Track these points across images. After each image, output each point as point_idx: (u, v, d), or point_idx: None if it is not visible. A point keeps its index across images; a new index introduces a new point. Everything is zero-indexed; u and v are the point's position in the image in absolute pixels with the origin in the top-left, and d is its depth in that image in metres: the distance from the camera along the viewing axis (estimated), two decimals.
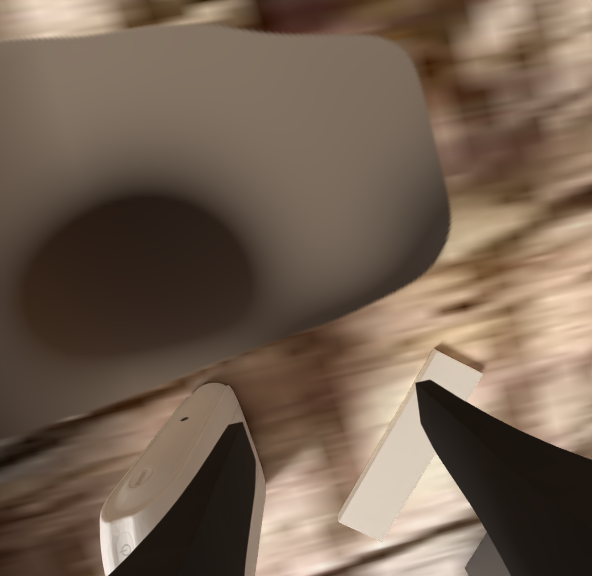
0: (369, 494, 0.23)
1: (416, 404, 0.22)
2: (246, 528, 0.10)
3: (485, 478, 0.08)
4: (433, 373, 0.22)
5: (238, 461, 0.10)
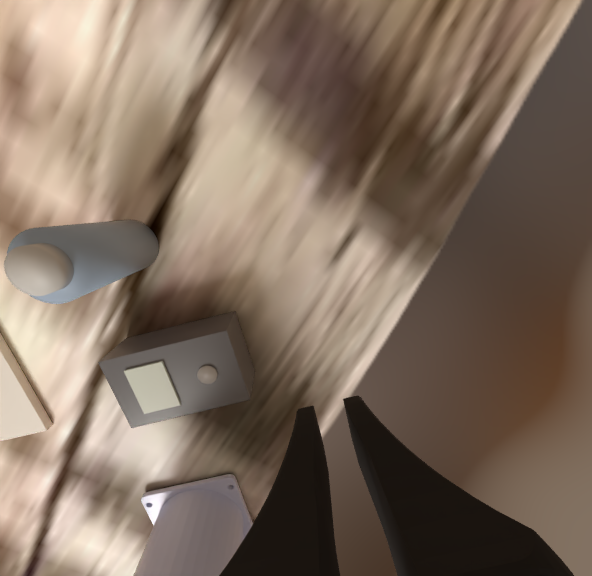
0: None
1: None
2: (330, 510, 0.10)
3: (380, 501, 0.08)
4: None
5: (318, 443, 0.10)
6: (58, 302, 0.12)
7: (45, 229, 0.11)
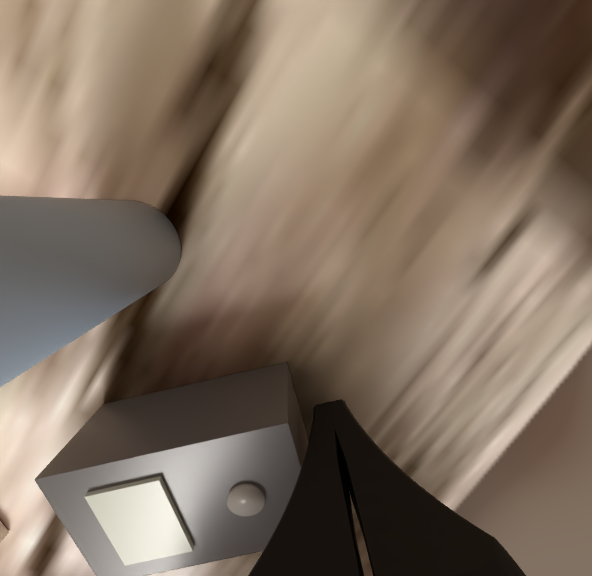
0: None
1: None
2: (350, 506, 0.10)
3: (357, 506, 0.08)
4: None
5: None
6: None
7: None
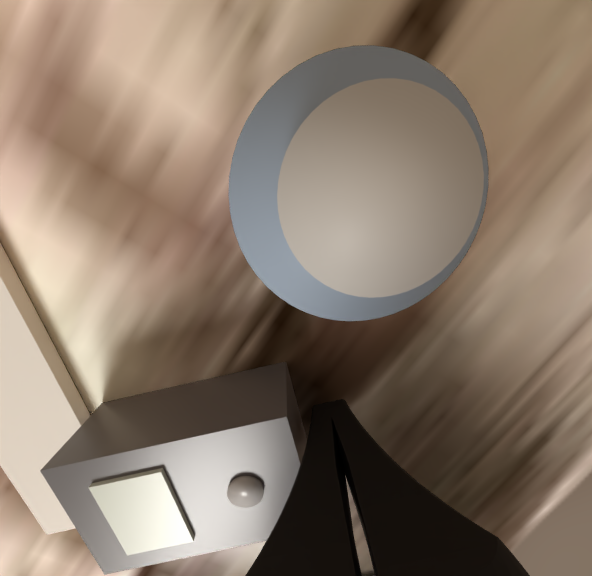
0: (34, 476, 0.12)
1: None
2: (348, 506, 0.10)
3: (358, 505, 0.08)
4: None
5: (335, 439, 0.10)
6: (357, 317, 0.04)
7: (389, 53, 0.03)
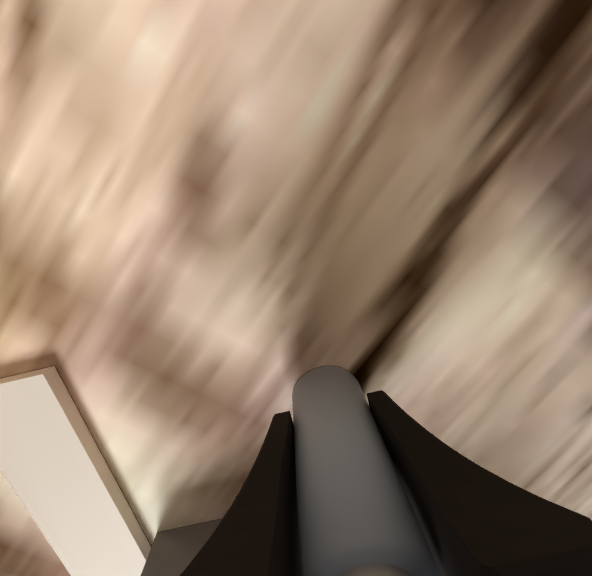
0: None
1: (19, 473, 0.13)
2: None
3: (415, 493, 0.08)
4: None
5: (291, 449, 0.10)
6: None
7: (388, 545, 0.06)
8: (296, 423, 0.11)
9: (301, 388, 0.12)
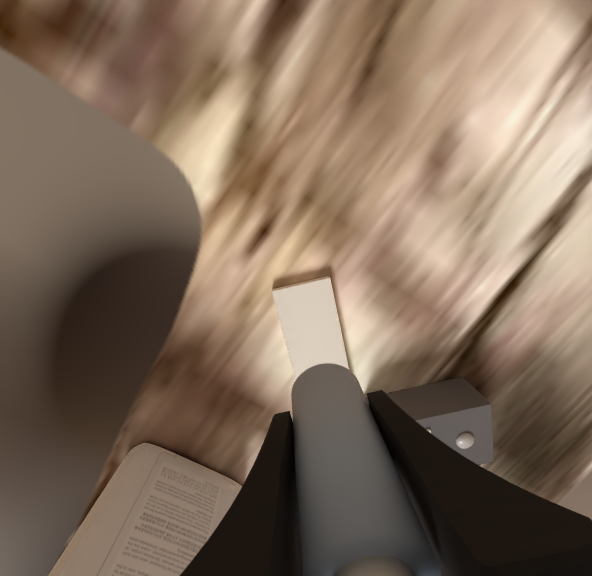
0: None
1: (296, 347, 0.20)
2: None
3: (415, 493, 0.08)
4: (286, 312, 0.20)
5: (291, 449, 0.10)
6: None
7: (387, 537, 0.06)
8: (295, 420, 0.11)
9: (300, 385, 0.12)
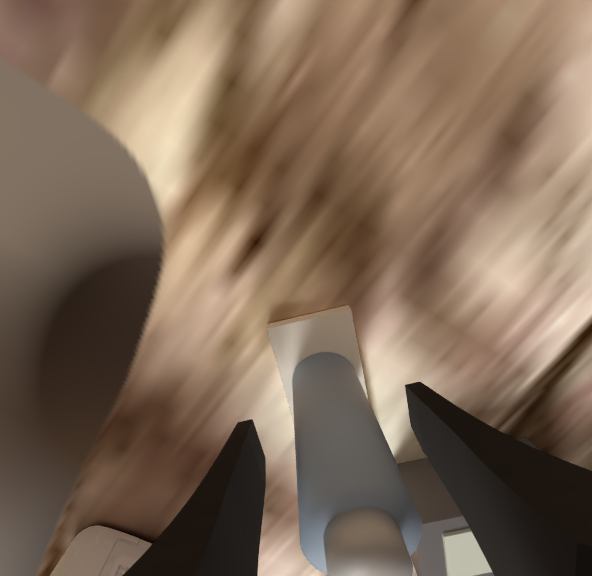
0: None
1: None
2: (258, 526, 0.10)
3: (470, 481, 0.08)
4: (288, 356, 0.14)
5: (249, 459, 0.10)
6: None
7: (374, 489, 0.07)
8: (295, 402, 0.12)
9: (300, 372, 0.13)
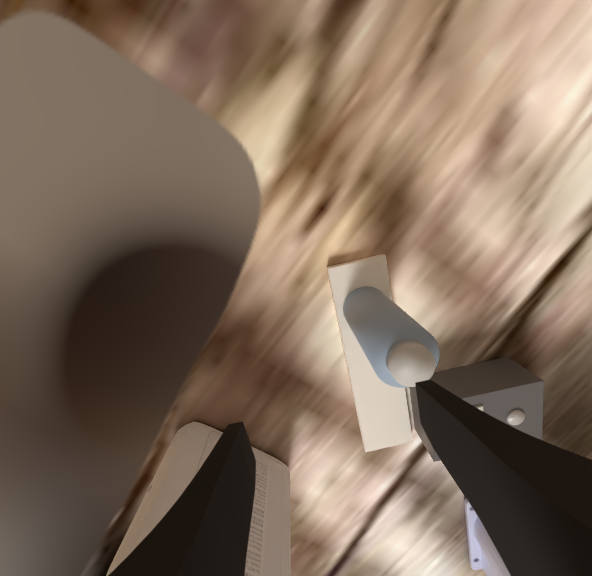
0: (372, 417, 0.23)
1: None
2: (246, 528, 0.10)
3: (485, 478, 0.08)
4: (341, 289, 0.20)
5: (238, 461, 0.10)
6: (404, 386, 0.14)
7: (414, 328, 0.13)
8: (352, 312, 0.18)
9: (351, 298, 0.19)
